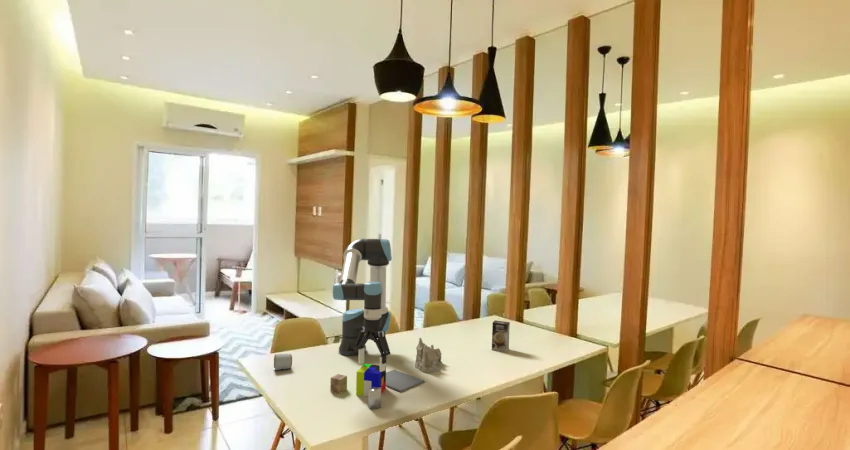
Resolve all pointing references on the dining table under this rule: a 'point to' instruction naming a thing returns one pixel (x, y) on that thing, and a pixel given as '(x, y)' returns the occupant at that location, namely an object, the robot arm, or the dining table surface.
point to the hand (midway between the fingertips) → (371, 367)
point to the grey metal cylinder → (374, 398)
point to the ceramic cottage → (428, 358)
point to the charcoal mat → (401, 381)
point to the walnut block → (338, 383)
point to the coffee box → (500, 336)
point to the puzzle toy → (370, 379)
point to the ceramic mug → (282, 361)
